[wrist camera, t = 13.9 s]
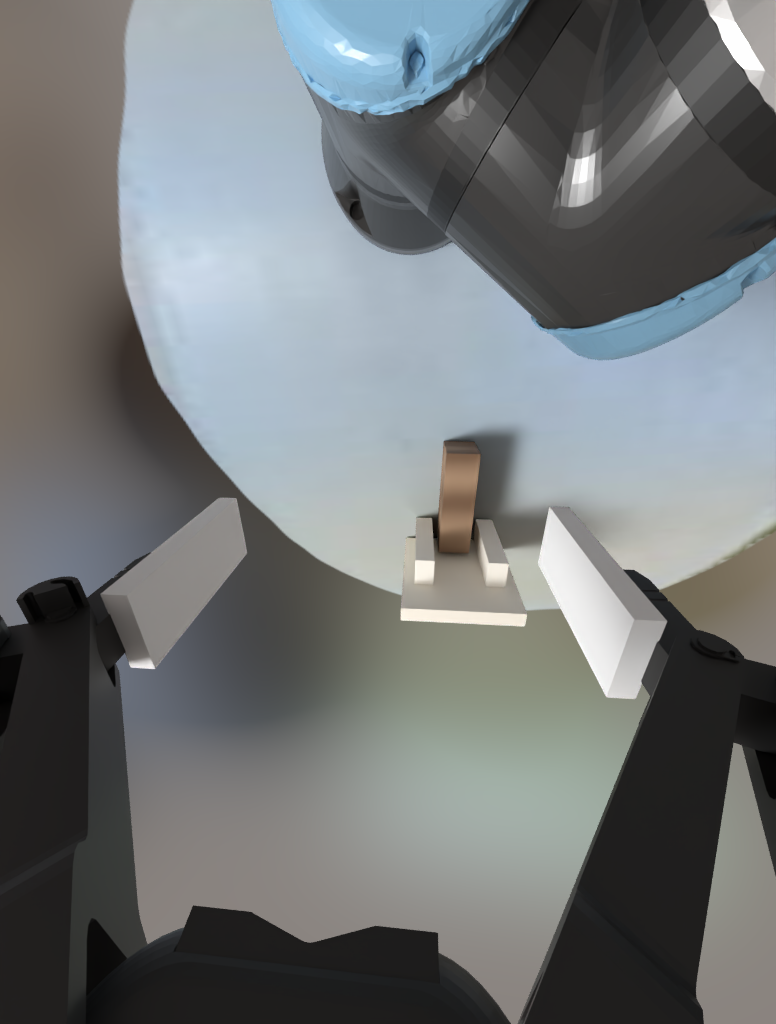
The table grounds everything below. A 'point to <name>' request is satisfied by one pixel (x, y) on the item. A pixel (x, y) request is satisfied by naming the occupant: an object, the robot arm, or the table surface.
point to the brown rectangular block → (457, 495)
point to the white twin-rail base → (459, 580)
